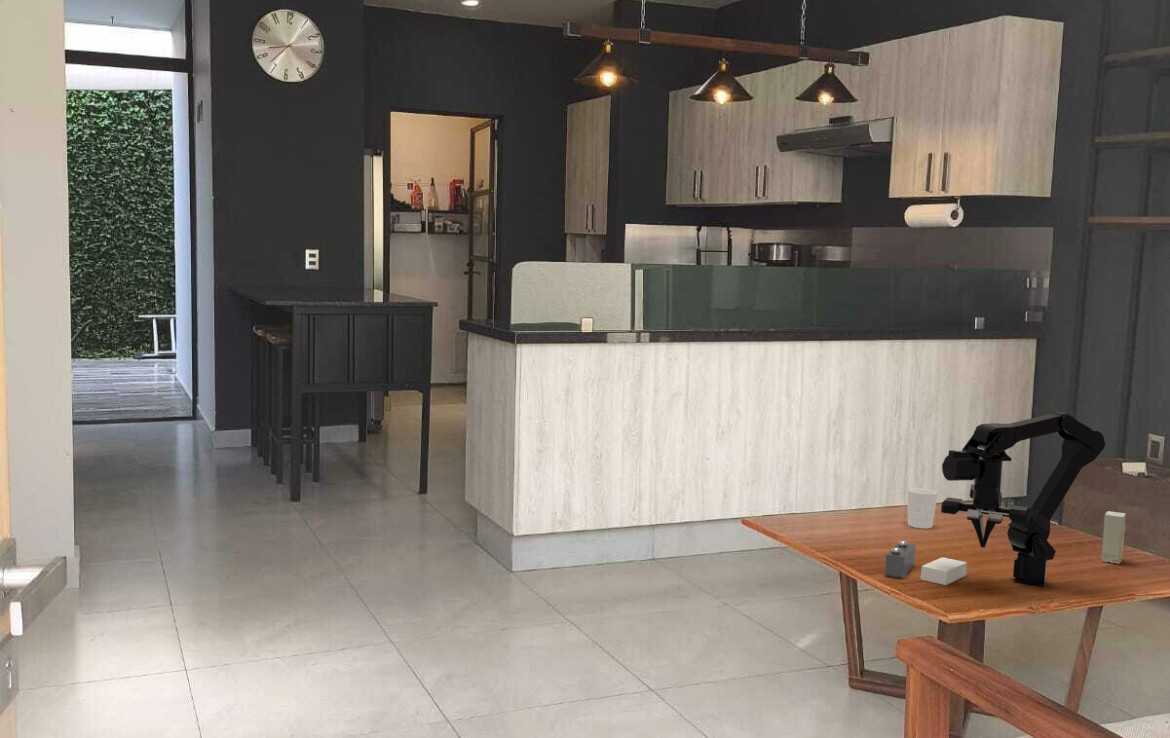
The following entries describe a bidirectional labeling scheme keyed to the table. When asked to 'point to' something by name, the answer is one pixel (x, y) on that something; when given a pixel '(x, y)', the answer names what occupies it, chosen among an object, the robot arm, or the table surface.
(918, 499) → the white cup
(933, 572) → the white rectangular block
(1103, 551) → the skincare box
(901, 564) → the stop bar
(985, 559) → the table surface
